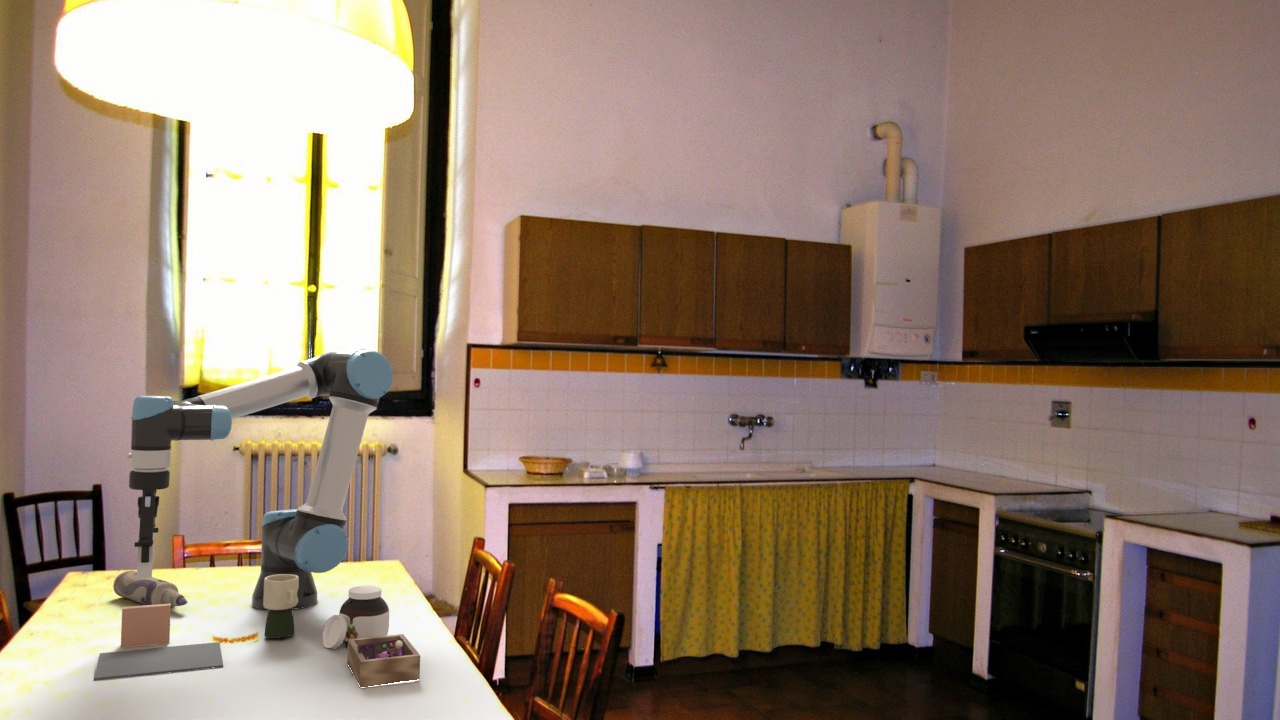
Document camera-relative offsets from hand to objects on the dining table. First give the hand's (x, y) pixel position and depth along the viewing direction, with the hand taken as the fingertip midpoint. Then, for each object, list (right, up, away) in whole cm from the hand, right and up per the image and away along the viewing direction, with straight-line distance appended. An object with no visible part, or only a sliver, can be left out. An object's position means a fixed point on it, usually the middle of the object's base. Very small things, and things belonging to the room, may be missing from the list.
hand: (145, 571), depth 197 cm
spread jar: (+42, -17, +4) cm, 46 cm away
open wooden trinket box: (+53, -17, -13) cm, 57 cm away
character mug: (+25, -16, +8) cm, 31 cm away
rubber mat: (+8, -16, -10) cm, 21 cm away
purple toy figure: (+53, -17, -13) cm, 57 cm away
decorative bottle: (-15, -15, +30) cm, 36 cm away
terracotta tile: (0, -15, 0) cm, 15 cm away
